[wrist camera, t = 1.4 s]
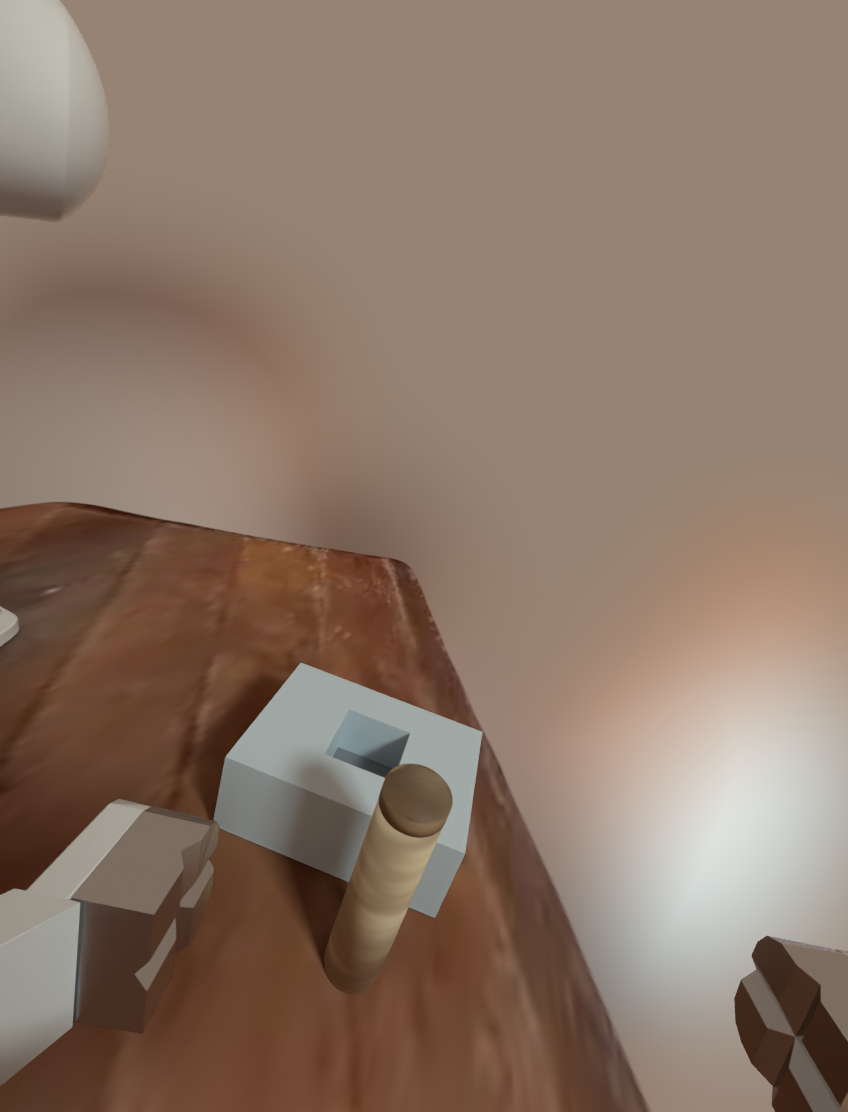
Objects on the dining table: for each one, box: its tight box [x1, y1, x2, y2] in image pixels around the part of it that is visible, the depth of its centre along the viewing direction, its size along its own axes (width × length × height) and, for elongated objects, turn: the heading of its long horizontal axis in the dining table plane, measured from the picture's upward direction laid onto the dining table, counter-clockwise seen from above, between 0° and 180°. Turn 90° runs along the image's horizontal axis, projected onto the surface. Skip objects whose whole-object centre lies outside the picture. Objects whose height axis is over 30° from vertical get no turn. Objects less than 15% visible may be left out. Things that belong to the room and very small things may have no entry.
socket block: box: [214, 663, 482, 918], centre depth 33 cm, size 14×10×6 cm
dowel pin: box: [324, 764, 453, 994], centre depth 24 cm, size 3×3×12 cm
